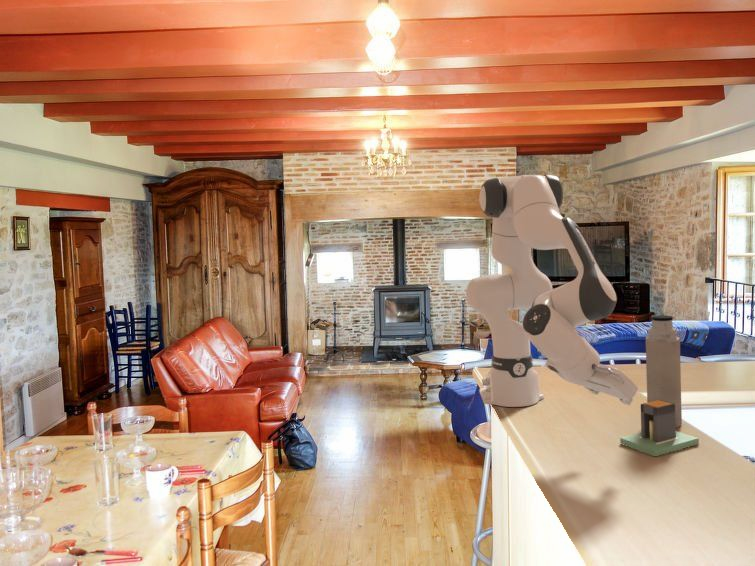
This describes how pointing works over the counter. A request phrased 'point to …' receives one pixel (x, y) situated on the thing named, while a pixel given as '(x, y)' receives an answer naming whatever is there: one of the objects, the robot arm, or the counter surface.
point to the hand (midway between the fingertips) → (612, 396)
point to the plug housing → (658, 420)
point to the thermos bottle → (664, 364)
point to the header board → (661, 447)
